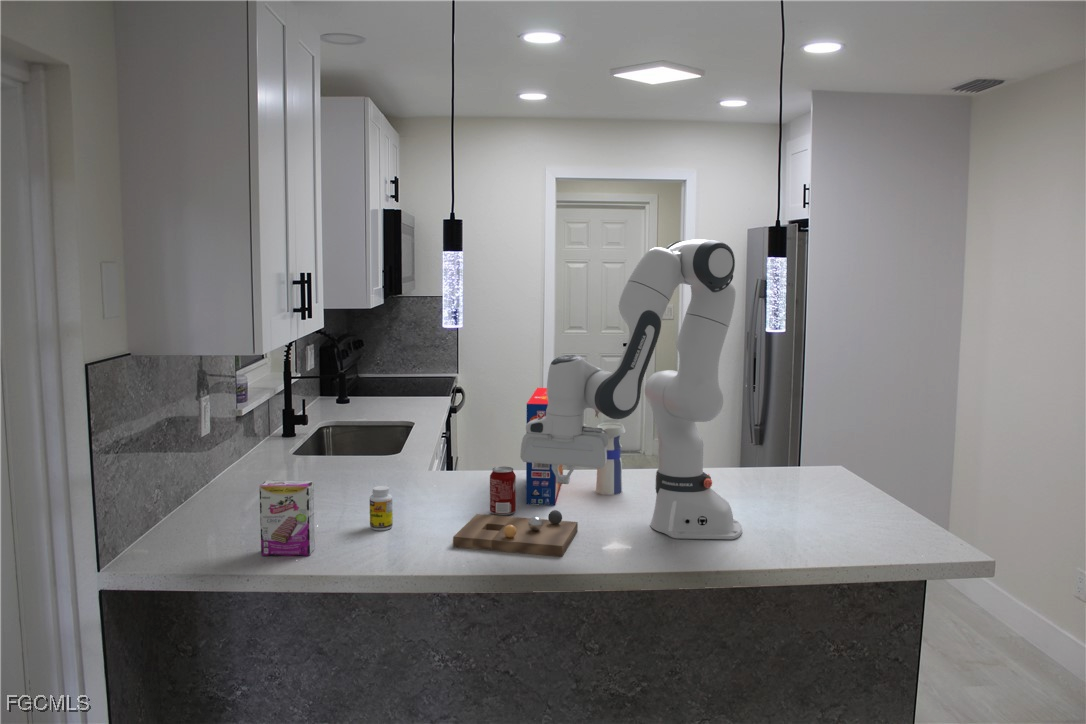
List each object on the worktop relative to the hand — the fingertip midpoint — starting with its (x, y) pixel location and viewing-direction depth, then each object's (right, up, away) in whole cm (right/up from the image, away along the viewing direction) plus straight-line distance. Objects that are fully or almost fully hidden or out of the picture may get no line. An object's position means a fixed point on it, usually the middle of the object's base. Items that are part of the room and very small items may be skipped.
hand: (562, 483), depth 200 cm
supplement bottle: (-45, -13, +13) cm, 48 cm away
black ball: (-2, -10, +8) cm, 13 cm away
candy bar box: (-63, -15, -6) cm, 65 cm away
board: (-11, -14, +5) cm, 18 cm away
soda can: (-15, -12, +25) cm, 32 cm away
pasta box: (-4, -9, +47) cm, 48 cm away
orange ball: (-12, -11, -2) cm, 17 cm away
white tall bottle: (+15, -9, +47) cm, 50 cm away
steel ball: (-6, -10, +3) cm, 12 cm away
